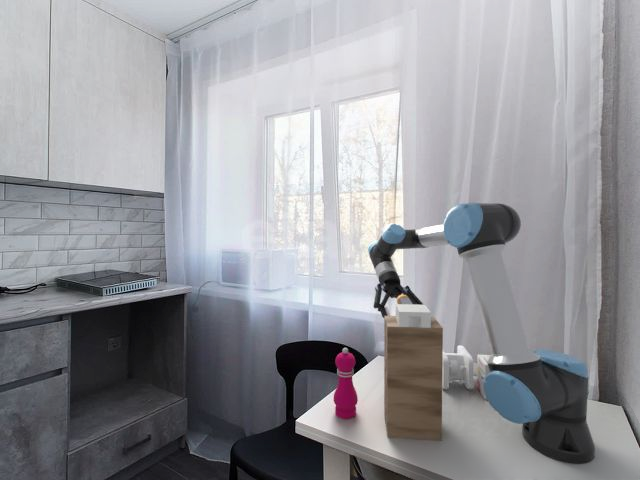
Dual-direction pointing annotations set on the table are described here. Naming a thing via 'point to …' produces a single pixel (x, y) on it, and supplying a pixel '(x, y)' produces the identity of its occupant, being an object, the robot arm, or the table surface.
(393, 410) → the walnut stand
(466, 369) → the cable organizer
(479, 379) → the ink cartridge box
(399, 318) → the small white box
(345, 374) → the pepper mill
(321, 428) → the table surface
